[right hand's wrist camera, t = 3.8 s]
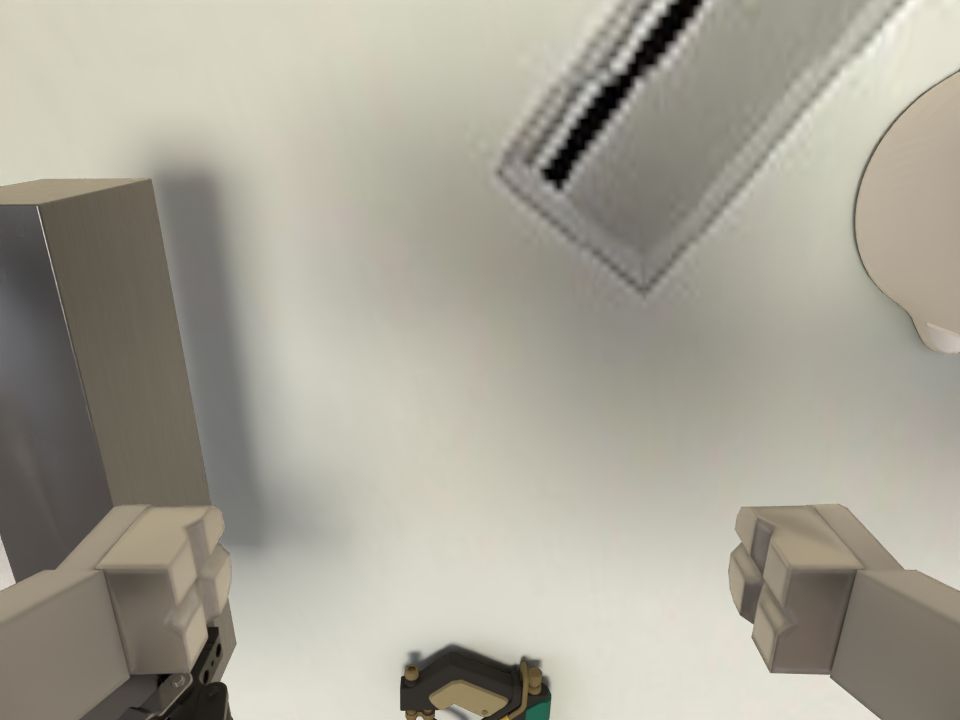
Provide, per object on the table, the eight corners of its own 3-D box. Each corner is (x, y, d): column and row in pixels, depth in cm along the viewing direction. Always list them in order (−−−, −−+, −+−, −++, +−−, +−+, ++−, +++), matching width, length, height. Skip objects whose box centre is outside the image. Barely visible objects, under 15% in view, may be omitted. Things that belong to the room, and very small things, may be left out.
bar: (43, 178, 29) (-110, 205, 21) (152, 178, 29) (37, 204, 21) (155, 644, 38) (78, 775, 31) (237, 643, 38) (179, 774, 31)
